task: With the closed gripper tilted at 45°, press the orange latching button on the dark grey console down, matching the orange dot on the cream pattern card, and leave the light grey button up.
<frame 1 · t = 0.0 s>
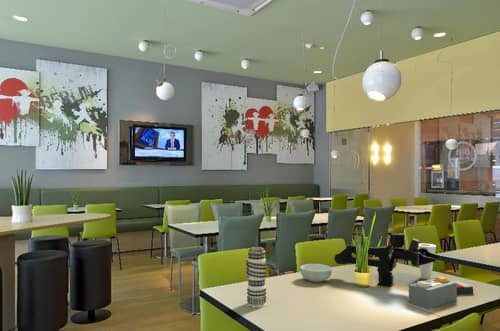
hand: (438, 258, 189), 17 cm above the table, tool horizontal, fingers open, 9 cm apart
cup: (426, 278, 216), on the table
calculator: (452, 292, 191), on the table
orange button: (441, 281, 180), point 8 cm above the table, slide at 0.0 cm
decorative candle: (256, 304, 173), on the table
grey button: (423, 286, 172), point 8 cm above the table, slide at 0.0 cm
button console: (433, 301, 176), on the table
cereal bowl: (315, 280, 212), on the table
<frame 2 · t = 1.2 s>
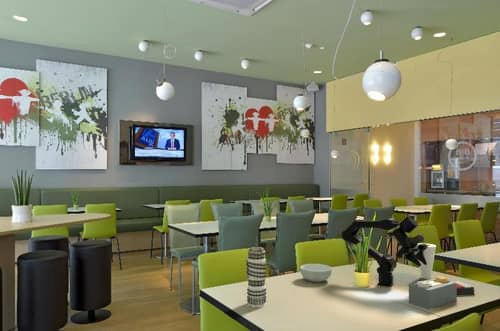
hand: (423, 265, 188), 14 cm above the table, tool tilted 45°, fingers open, 4 cm apart
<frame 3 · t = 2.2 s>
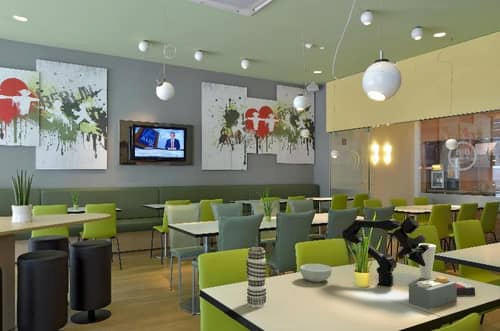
hand: (424, 266, 187), 13 cm above the table, tool tilted 45°, fingers closed
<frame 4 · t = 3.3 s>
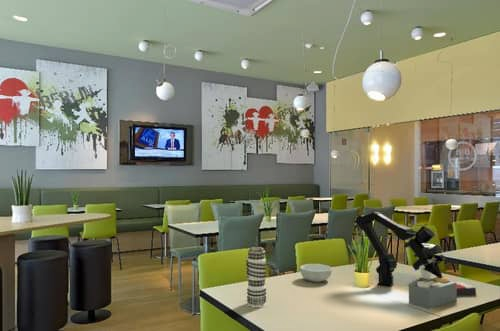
hand: (441, 277, 180), 10 cm above the table, tool tilted 45°, fingers closed, pressing on orange button
orange button: (441, 281, 180), point 8 cm above the table, slide at 0.1 cm, touching gripper
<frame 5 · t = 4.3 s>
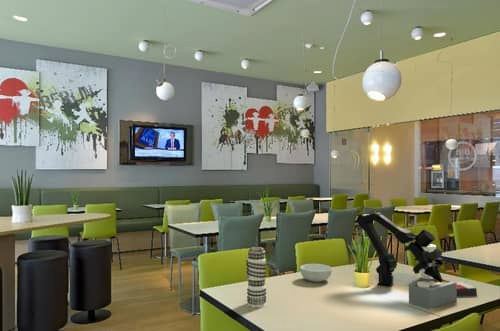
hand: (441, 281, 180), 8 cm above the table, tool tilted 45°, fingers closed
orange button: (441, 285, 180), point 6 cm above the table, slide at 1.9 cm
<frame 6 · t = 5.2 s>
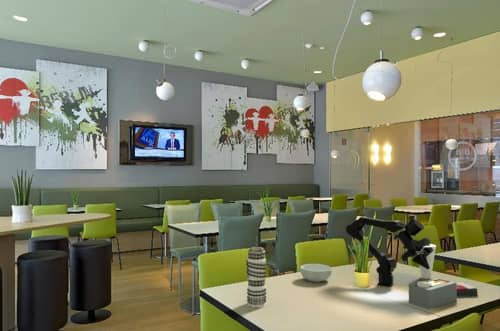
hand: (428, 268, 185), 12 cm above the table, tool tilted 45°, fingers closed
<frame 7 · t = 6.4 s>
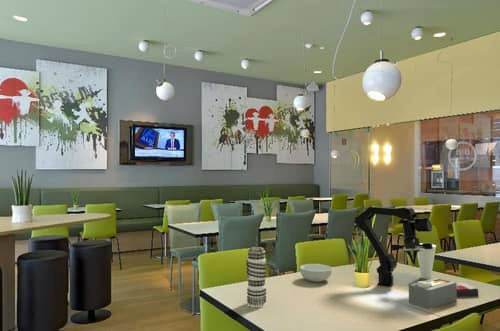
hand: (413, 264, 193), 13 cm above the table, tool pointing down, fingers closed
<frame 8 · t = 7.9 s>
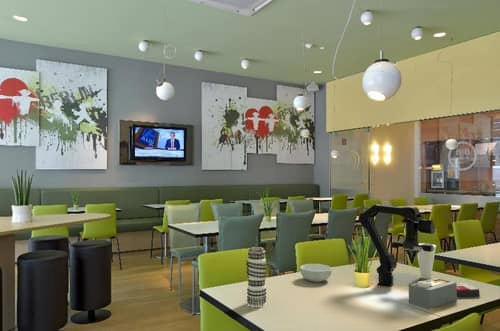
hand: (412, 263, 194), 13 cm above the table, tool pointing down, fingers closed
at the end: orange button slide at 1.9 cm; grey button slide at 0.0 cm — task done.
